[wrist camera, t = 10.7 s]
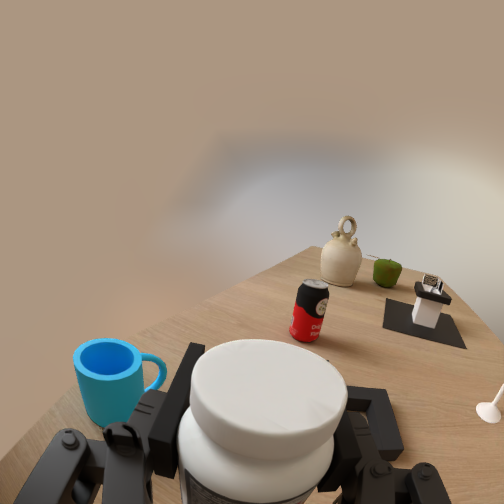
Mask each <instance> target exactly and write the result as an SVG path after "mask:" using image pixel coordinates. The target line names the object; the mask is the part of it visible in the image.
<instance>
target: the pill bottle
mask: <svg viewBox="0 0 504 504" xmlns="http://www.w3.org/2000/svg"><path fill="white" fill-rule="evenodd" d="M347 397H348V391H347V387H346V383H345V381H344V379H343V377H342V376H341V374H340V373H339V372H338V370H337V369H336V368H335V367H334V366H333V365H331V364H330V363H329V362H328V361H326V360H325V359H323V358H322V357H320V356H319V355H317V354H315V353H312V352H310V351H308V350H306V349H303V348H301V347H298V346H295V345H291V344H288V343H283V342H278V341H272V340H259V339H248V340H236V341H231V342H227V343H224V344H221V345H218V346H216V347H213V348H212V349H210V350H208V351H207V352H205V353H204V354H203V355H202V356H201V357H200V358H199V359H198V361H197V362H196V364H195V366H194V368H193V372H192V376H191V391H190V407H189V408H188V409H187V410H186V412H185V413H184V415H183V416H182V418H181V420H180V423H179V426H178V430H177V434H176V445H177V460H178V470H179V479H180V489H181V499H182V503H183V504H303V503H304V502H305V501H306V500H307V498H308V497H309V496H310V494H311V493H312V492H313V490H314V489H315V488H316V486H317V485H318V484H319V482H320V481H321V479H322V478H323V476H324V475H325V474H326V472H327V470H328V469H329V466H330V464H331V461H332V457H333V451H334V438H333V434H334V432H335V430H336V428H337V426H338V424H339V422H340V419H341V417H342V415H343V412H344V410H345V406H346V403H347Z"/></svg>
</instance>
